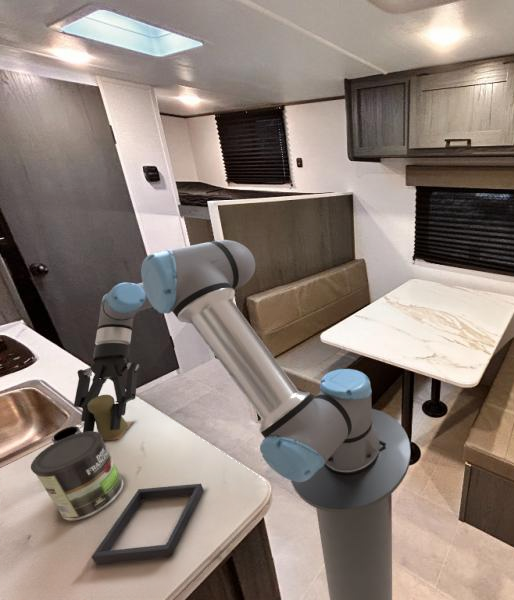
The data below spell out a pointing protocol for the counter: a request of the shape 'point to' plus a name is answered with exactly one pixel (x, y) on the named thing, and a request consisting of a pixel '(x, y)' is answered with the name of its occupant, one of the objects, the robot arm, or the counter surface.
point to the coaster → (121, 433)
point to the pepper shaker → (105, 416)
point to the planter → (65, 433)
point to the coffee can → (78, 475)
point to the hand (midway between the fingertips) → (101, 431)
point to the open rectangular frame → (141, 553)
